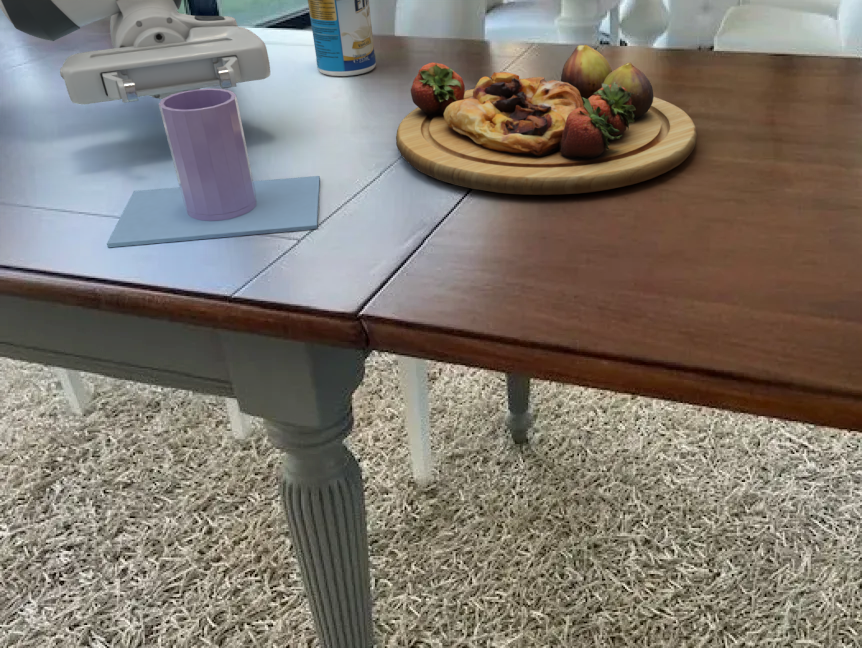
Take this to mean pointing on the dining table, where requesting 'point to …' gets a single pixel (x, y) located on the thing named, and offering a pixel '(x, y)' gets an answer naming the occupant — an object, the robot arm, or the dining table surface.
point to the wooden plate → (544, 129)
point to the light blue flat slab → (169, 222)
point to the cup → (209, 153)
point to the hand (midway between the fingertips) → (179, 86)
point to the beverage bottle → (342, 36)
